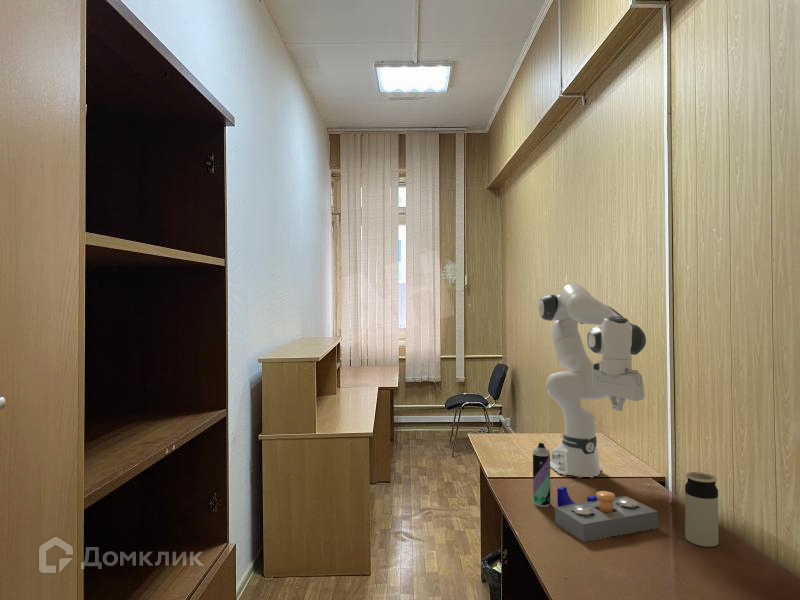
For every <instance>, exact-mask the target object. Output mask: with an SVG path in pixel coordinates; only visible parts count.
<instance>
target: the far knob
mask: <svg viewBox="0 0 800 600" xmlns="http://www.w3.org/2000/svg"><path fill="white" fill-rule="evenodd" d="M630 498H631V497H629V498H620V499H618V505H619V506H621V507H623V508H625V509H627V510H628V509H634V508H637V502H638V501H637V500H636V499H633V498H631V499H630Z"/></svg>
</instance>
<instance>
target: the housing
mask: <svg viewBox="0 0 800 600" xmlns="http://www.w3.org/2000/svg"><path fill="white" fill-rule="evenodd" d="M620 498H630V499H632V498H631V497H629V496H627V495H622V496H617V497H616V496H615V501H613V512H611V513H603V512H601V511H599V500H598V499H597V500H596V501H590V502H587V501H585V502H584V501H583V502H578V503H576V504H571V505H565V506H559V507H558V506H555V507H554V517H555V518H554V524H555V525H556V526H557V527H560V528H561V529H562V530H564V531H566V532H567V533H568V534H571V536H573V537H575V539H578V540H579V541H581V542H582V543H587V542H586V541H588V542H592V541H591V540H593V541H596V540H595V539H599V540H601V539H600V538H604V537H609V538H612V537H611V536H615V537H617V536H616V535H620V536H622V535H621V534H625V535H628V534H627V533H631V534H634V533H633V532H636V533H639V532H638V531H641V532H644V531H643V530H647V531H650V529H652V530H657V529H658V528H659V519H658V517H659V514H658V512H659V511H658V510H656V509H654V508H652V507H650V506H648V505H646V504H644V503H642V502H639V501H637V508H634V509H628V510H627V509H625V508H623V507H621V506H619V505H618V499H620ZM576 505H585V506H589V507H591V508H592V509H593V514H592V515H591V516H587V517H580V516H578V515H577V514H575V513H574V506H576ZM656 528H657V529H656ZM604 539H605V538H604Z"/></svg>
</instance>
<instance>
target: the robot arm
mask: <svg viewBox="0 0 800 600" xmlns="http://www.w3.org/2000/svg"><path fill="white" fill-rule="evenodd" d="M538 312H539V316H540V318H541V319H542V320H544V321H550V322H551V321H554V323H553V324H552V326H551V337H552V343H553V346H554V350H555V354H556V358H557V361H558V363H559V365H561V366H562V367H563V368H565V369H567V371H564V370H563V371H557V372H554V373H551V374H549V375H548V376H547V379H546V381H545V390H546V392H547V394H548V395H549V396H550V398H551V399H553V400H554V401H555V402H556V403H557V404H558V405H559V406H560V408H561V411H562V413H563V417H564V433H563V434H560V435H561V436H560V437H561V438H562V441H561V443H560V444H558V445H557V446H556V447H554V448H553V449H552V451H551V455H550V467H551V468H553V469H554V470H555V471H557V472H558V473H560V474H565V475H564V476H566V475H574V476H581V477H580V478H582V477H590V478H595V477H594V476H596V477H598V475H599V474H600V475H601V471H602V467H601V466H600V458H599V451H598V448H596V447H597V446H598V445H597V443H598V440H597V436H596V417H595V415H594V414H593V412H591V411H590V410H588V409H586V408H584V407H582V404H581V400H584V401H585V400H586V401H587V400H589V401H591V400H601V399H605V398H606V399H607V398H609V400H610V403H611V409H612V410H615V411H620V412H623V409H624V407H623V406H624V403H625V402H626V400H630V401H634V402H635V401H636V402H637V401H643V400H644V398H645V388H644V387H645V386H644V381H643V376H642V374H641V373H640V372H639V370H636V369H633V358H632V356H637V355H638V354H639V353H640V352H641V351H643V350H644V349H645V346H646V343H647V338H646V334H645V332H644V330H643V329H642V328H641V327H640V326H639V325H637V324H634V323H631V322H630V320H629V319H627V318H626V317H624V316H623V315H622V314H620V313H619V312H618V311H617V310H615V309H614V308H613V307H611V306H609V305H607V304H605V303H603V302H601V301H599V300H598V299H597V298H595V297H594V296H593V295H592V294H591V293H590V292H589V291H588V290H587V289H586V288H585V287H583V286H582V285H581V284H578V283H575V282H574V283H573V282H572V283H568V284H566V285H565V286H564V287H563V288H562V289H561V291H560V294H559V293H558V294H554V293H552V294H547V295H544V296H541V298H540V299H539V302H538ZM578 324H580V325H583V324H584V325H586V324H588V325H597V326H593V327H592V328H591V329H590V330H589V332H588V333H587V337H586V338H587V339H586V340H587V347H588V349H590V351H592V352H593V353H594V354H599V355H602V359H601V360H600V361H597V362H593V361H592V360H591V359H590V358H589V356H588V354H587V352H586V350H585V347H584V344H583V340H582V338H581V337H582V336H581V334H580V333H579V330H578V328H579V327H578V326H579V325H578ZM569 370H570V371H569ZM551 468H550V469H551ZM553 469H552V470H553ZM554 470H553V471H554ZM555 471H554V472H555ZM557 472H556V473H557ZM558 473H557V474H558ZM600 475H599V476H600Z"/></svg>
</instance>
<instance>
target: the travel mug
mask: <svg viewBox="0 0 800 600" xmlns="http://www.w3.org/2000/svg"><path fill="white" fill-rule="evenodd" d="M685 476H686V479H687V482H686V483H685V484H684V509H685V510H684V512H685V513H684V517H685V520H684V523H685V525H684V527H685V529H684V531H685V537H684V538H685V539H686V540H687V541H688V542H689V543H691V544H693V545H695V546H699V547H704V548H706V547H707V548H710V547H716V546H718V545H719V489H718V487H717V486H716V484H717V483H716V482H717V480H718V478H717V476H715V475H713V474H710V473H706V472H701V471H689V472H686V474H685Z"/></svg>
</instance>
